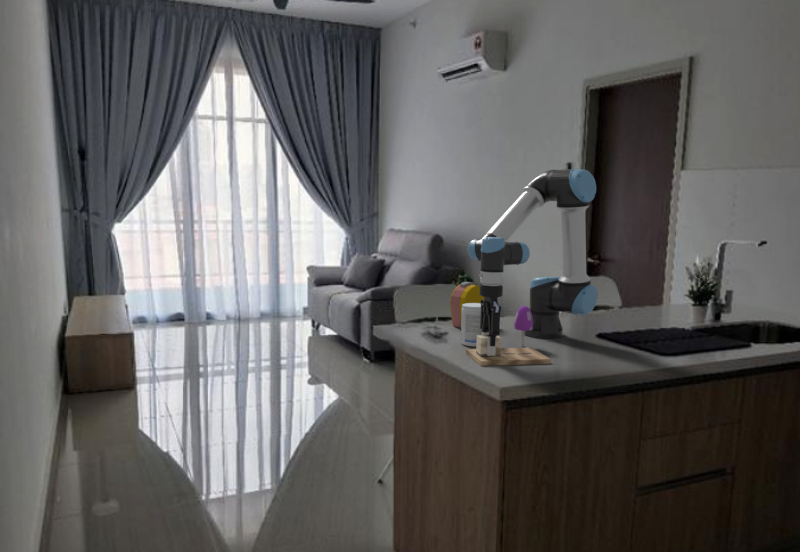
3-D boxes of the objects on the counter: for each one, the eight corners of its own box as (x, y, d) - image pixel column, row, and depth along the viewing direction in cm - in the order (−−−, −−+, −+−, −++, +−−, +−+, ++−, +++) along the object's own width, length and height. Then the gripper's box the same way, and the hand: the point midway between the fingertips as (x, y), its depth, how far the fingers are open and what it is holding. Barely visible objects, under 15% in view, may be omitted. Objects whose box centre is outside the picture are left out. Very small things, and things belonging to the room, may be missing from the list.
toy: (533, 345, 232) (535, 305, 230) (530, 349, 226) (532, 307, 224) (514, 343, 234) (516, 303, 232) (511, 347, 228) (513, 306, 226)
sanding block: (495, 352, 213) (496, 334, 213) (500, 355, 209) (501, 337, 208) (476, 352, 212) (476, 335, 211) (480, 356, 208) (481, 338, 207)
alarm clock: (471, 321, 273) (473, 279, 271) (486, 325, 267) (488, 282, 265) (448, 326, 263) (449, 282, 261) (463, 329, 257) (464, 284, 255)
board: (531, 351, 222) (531, 347, 222) (550, 363, 207) (551, 358, 207) (466, 353, 218) (466, 348, 217) (480, 365, 202) (481, 360, 202)
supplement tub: (492, 345, 230) (493, 305, 228) (472, 348, 225) (473, 307, 223) (475, 340, 238) (476, 301, 236) (455, 343, 233) (456, 303, 231)
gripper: (472, 280, 215) (469, 347, 218) (489, 288, 198) (486, 360, 201) (493, 280, 217) (490, 346, 220) (512, 288, 200) (508, 359, 203)
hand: (488, 353), depth 211 cm, fingers closed on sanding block, 4 cm apart
